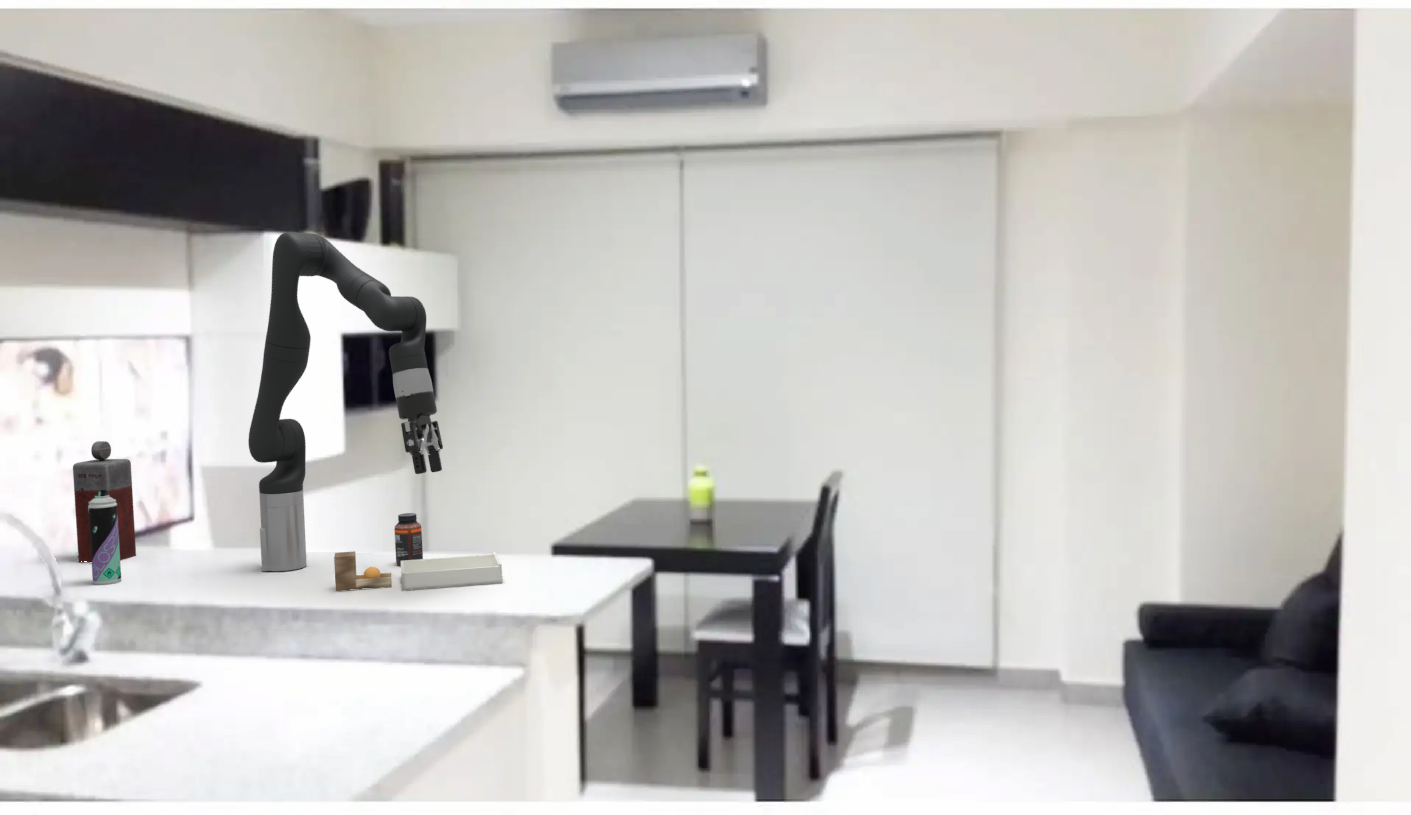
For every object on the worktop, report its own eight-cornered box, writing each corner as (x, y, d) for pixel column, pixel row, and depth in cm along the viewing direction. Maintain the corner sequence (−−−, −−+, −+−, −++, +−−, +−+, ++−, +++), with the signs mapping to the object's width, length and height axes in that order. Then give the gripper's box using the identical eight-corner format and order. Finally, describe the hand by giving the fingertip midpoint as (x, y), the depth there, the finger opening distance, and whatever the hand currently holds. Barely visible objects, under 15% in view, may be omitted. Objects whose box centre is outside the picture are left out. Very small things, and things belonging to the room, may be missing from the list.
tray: (402, 590, 242) (401, 571, 241) (401, 576, 255) (400, 558, 255) (502, 583, 247) (501, 563, 246) (496, 569, 260) (495, 551, 260)
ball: (364, 585, 245) (362, 569, 244) (364, 582, 248) (362, 566, 248) (381, 583, 246) (379, 567, 245) (381, 580, 249) (379, 564, 249)
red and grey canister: (94, 554, 289) (87, 439, 287) (136, 555, 287) (130, 439, 285) (69, 562, 281) (61, 443, 279) (112, 562, 279) (105, 443, 277)
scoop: (335, 591, 243) (334, 557, 242) (336, 586, 247) (335, 552, 247) (391, 586, 245) (390, 553, 245) (391, 582, 250) (390, 548, 250)
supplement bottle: (426, 561, 272) (424, 511, 271) (418, 566, 266) (416, 516, 265) (401, 561, 272) (399, 512, 272) (392, 566, 266) (389, 516, 266)
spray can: (92, 586, 253) (87, 492, 252) (92, 581, 258) (87, 489, 257) (121, 582, 256) (116, 490, 254) (121, 578, 261) (115, 487, 259)
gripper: (410, 398, 249) (424, 474, 248) (382, 396, 235) (397, 477, 234) (444, 390, 248) (458, 467, 247) (418, 388, 234) (433, 470, 233)
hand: (429, 472), depth 240 cm, fingers open, 8 cm apart
